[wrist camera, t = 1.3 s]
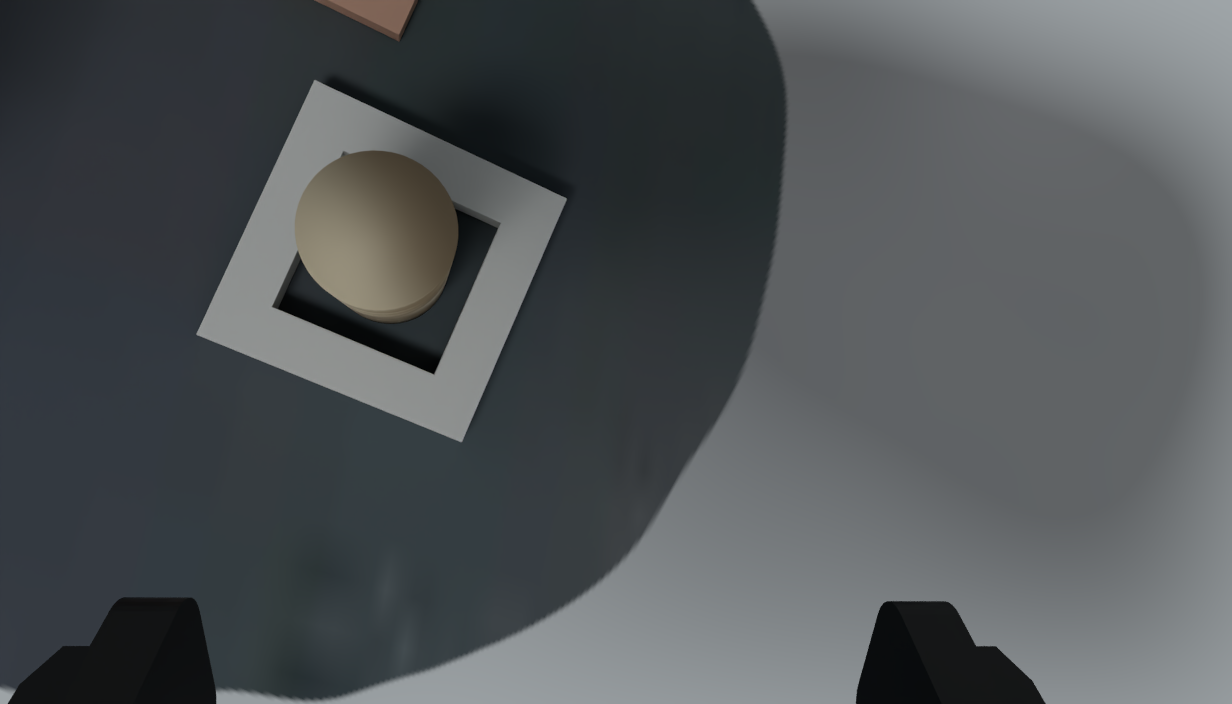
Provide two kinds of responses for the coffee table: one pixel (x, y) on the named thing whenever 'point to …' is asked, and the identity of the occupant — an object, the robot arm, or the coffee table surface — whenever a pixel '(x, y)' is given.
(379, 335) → the coffee table surface
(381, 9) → the terracotta tile
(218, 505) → the coffee table surface
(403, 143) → the pocket block
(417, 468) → the coffee table surface
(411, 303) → the birch peg
